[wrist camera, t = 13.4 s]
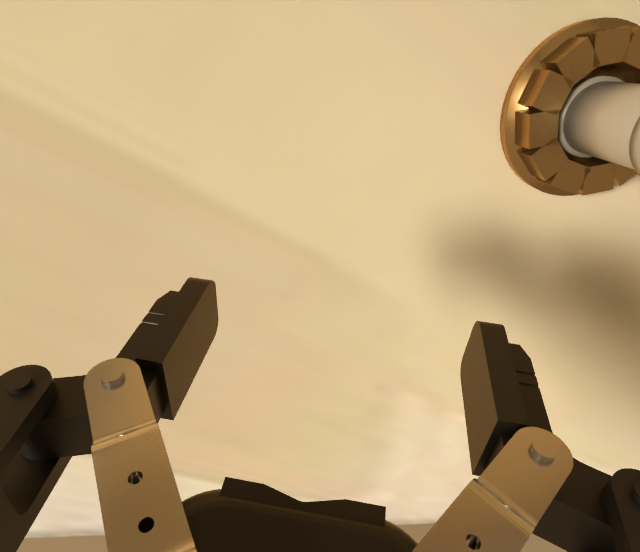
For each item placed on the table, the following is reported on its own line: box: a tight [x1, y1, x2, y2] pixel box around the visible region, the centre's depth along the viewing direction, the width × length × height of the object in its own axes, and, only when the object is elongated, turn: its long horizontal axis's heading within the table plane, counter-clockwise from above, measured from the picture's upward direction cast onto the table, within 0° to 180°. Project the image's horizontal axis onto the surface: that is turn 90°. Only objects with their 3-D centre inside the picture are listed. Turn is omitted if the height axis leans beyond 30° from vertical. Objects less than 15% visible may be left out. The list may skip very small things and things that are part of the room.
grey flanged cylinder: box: [557, 76, 640, 175], centre depth 29 cm, size 5×5×9 cm
